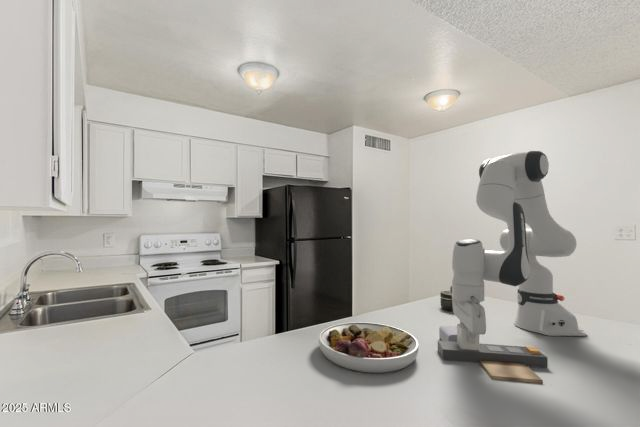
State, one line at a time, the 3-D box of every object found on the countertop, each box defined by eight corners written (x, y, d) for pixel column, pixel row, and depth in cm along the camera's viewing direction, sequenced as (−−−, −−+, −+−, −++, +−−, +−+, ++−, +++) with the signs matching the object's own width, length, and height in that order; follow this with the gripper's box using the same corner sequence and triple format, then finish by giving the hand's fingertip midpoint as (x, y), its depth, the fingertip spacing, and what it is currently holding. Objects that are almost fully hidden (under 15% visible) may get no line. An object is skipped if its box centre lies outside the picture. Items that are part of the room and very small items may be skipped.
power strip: (534, 357, 94) (534, 344, 94) (547, 368, 87) (547, 354, 87) (437, 349, 98) (437, 337, 98) (442, 359, 91) (442, 346, 91)
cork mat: (525, 367, 87) (525, 364, 87) (542, 383, 78) (542, 380, 79) (479, 363, 89) (479, 360, 89) (491, 378, 80) (491, 375, 80)
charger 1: (459, 333, 114) (477, 350, 99) (433, 332, 114) (448, 349, 100) (459, 320, 114) (477, 335, 99) (433, 319, 115) (448, 334, 100)
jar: (443, 305, 153) (443, 289, 154) (465, 308, 148) (465, 292, 148) (437, 309, 145) (437, 293, 145) (460, 313, 139) (460, 296, 140)
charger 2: (474, 349, 95) (474, 324, 96) (479, 355, 91) (479, 329, 91) (457, 348, 96) (457, 323, 96) (461, 354, 92) (461, 328, 92)
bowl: (334, 331, 114) (335, 310, 115) (420, 343, 104) (420, 319, 105) (303, 366, 86) (304, 338, 86) (416, 387, 76) (416, 355, 76)
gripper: (492, 302, 83) (492, 354, 83) (468, 286, 104) (468, 328, 103) (467, 300, 84) (467, 352, 84) (448, 285, 105) (448, 327, 104)
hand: (467, 339), depth 94 cm, fingers closed on charger 2, 4 cm apart
